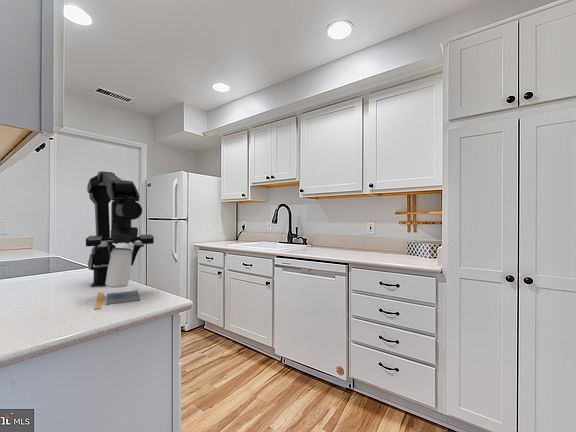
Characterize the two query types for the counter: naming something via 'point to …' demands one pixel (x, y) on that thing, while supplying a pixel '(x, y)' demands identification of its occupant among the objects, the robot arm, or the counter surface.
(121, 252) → the can
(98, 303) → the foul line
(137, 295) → the mat
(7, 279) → the counter surface
